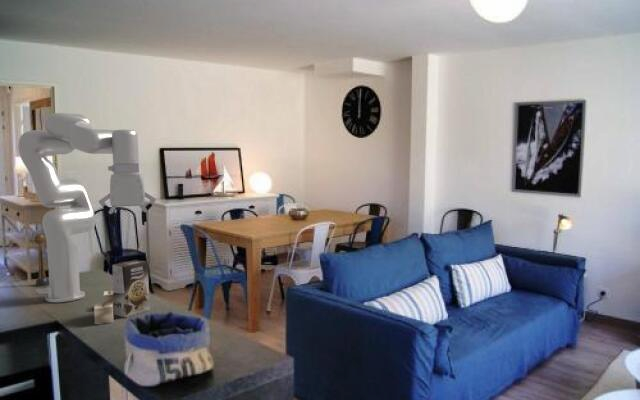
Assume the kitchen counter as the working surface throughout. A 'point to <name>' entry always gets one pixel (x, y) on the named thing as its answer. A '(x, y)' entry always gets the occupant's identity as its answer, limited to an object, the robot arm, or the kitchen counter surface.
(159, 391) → the kitchen counter surface
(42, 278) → the wooden tabletop sculpture
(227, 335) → the kitchen counter surface
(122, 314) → the coffee box
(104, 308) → the marked block front
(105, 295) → the marked block back
